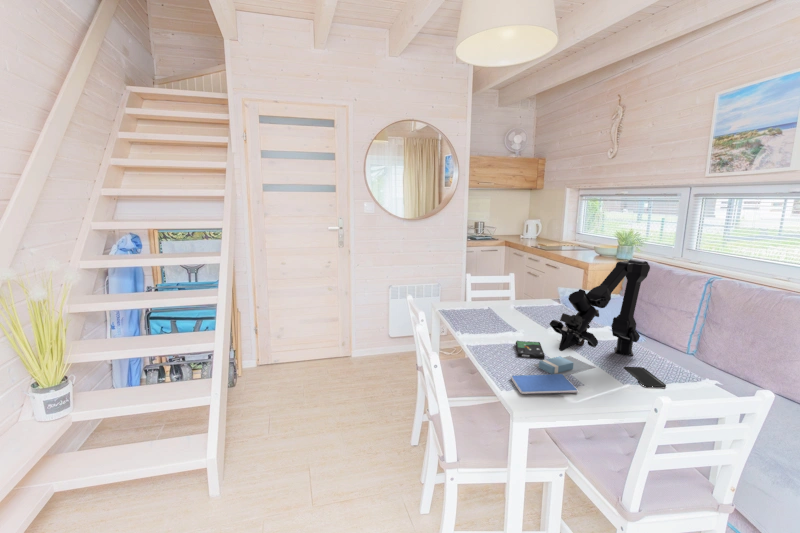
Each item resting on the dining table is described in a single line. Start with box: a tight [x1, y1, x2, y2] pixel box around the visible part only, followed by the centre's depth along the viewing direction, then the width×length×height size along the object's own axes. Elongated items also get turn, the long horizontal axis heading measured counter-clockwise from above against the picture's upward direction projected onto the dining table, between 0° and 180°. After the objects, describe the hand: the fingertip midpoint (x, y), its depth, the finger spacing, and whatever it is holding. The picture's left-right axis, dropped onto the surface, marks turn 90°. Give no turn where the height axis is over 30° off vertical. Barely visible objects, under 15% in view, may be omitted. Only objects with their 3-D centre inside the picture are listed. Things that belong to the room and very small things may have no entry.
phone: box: [623, 366, 667, 388], centre depth 143 cm, size 8×1×15 cm
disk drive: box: [515, 340, 545, 360], centre depth 165 cm, size 10×3×15 cm
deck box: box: [538, 355, 574, 374], centre depth 149 cm, size 3×6×11 cm
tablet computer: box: [510, 373, 579, 395], centre depth 136 cm, size 19×13×1 cm, turn 91°
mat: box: [533, 355, 596, 377], centre depth 151 cm, size 20×12×1 cm, turn 116°
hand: (560, 350), depth 149 cm, fingers closed
